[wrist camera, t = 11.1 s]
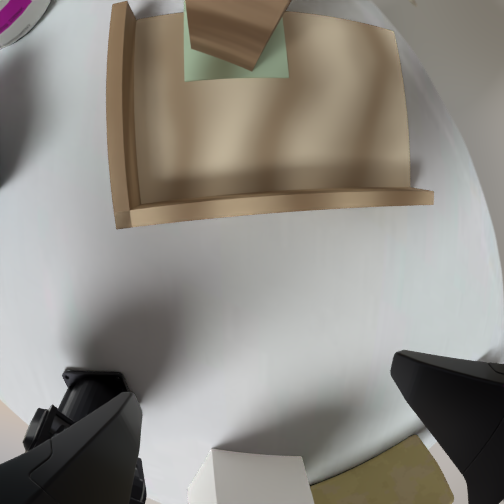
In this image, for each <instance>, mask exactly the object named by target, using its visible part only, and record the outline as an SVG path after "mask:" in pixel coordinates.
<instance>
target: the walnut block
mask: <svg viewBox="0 0 504 504" xmlns="http://www.w3.org/2000/svg"><path fill="white" fill-rule="evenodd" d="M290 2H291V0H185V3H186V12H187V20H188V29H189V37H190V44H191V49H193V50H196V51H199V52H202V53H205V54H208V55H211V56H214V57H216V58H219V59H222V60H224V61H227V62H230V63H232V64H235V65H237V66H240V67H242V68H245V69H247V70H249V71H253V69H254V67H255V65H256V63H257V61H258V59H259V57H260V56H261V54H262V52H263V50H264V48H265V46H266V45H267V43H268V41H269V39H270V37H271V36H272V34H273V32H274V30H275V29H276V27H277V25H278V23H279V22H280V20H281V18H282V16H283V14H284V13H285V11H286V9H287V7H288V6H289V4H290Z"/></svg>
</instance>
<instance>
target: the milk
mask: <svg viewBox="0 0 504 504" xmlns="http://www.w3.org/2000/svg"><path fill="white" fill-rule="evenodd" d="M187 498H188V504H314V500H313V496H312V493H311V489H310V485H309V482H308V478H307V474H306V470H305V467H304V463H303V459H302V456H278V455H263V454H251V453H242V452H233V451H226V450H219V449H211V450H210V452H209V454H208V455H207V457H206V459H205V460H204V462H203V464H202V465H201V467H200V469H199V470H198V472H197V474H196V475H195V477H194V479H193V480H192V482H191V484H190V485H189V487H188V488H187Z"/></svg>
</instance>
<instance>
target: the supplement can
mask: <svg viewBox="0 0 504 504" xmlns="http://www.w3.org/2000/svg"><path fill="white" fill-rule="evenodd" d="M50 2H51V0H0V49H2V48H4V47H7V46H9V45H11V44H12V43H14V42H16V41H17V40H18V39H20V38H21V37H23V36H24V35H25V34H27V33H28V32H29V31H30V30H31V29H32V28H33V27H34V26H35V25H36V24H37V22H38V21H39V20H40V18H41V17H42V16H43V14H44V13H45V11H46V9H47V7H48V5H49V4H50Z"/></svg>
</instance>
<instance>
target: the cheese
mask: <svg viewBox="0 0 504 504" xmlns="http://www.w3.org/2000/svg"><path fill="white" fill-rule="evenodd" d="M310 489H311V493H312V496H313V500H314V504H452V503H453V501H454V496H453V493H452V491H451V489H450V487H449V485H448V483H447V481H446V479H445V477H444V474H443V473H442V471H441V469H440V467H439V465H438V464H437V462H436V461H435V459H434V458H433V456H432V455H431V454H430V452H429V451H428V449H427V448H426V446H425V445H424V444H423V442H422V441H421V440H420V438H419V437H418V436H417V435H412V436H410V437H408V438H407V439H405V440H404V441H402V442H400V443H399V444H397V445H395V446H394V447H392V448H390V449H389V450H387V451H385V452H383V453H382V454H380V455H378V456H376V457H374V458H372V459H371V460H369V461H367V462H365V463H363V464H361V465H359V466H357V467H355V468H353V469H351V470H348V471H346V472H344V473H342V474H340V475H337V476H335V477H333V478H330V479H328V480H325V481H323V482H320V483H317V484H315V485H312V486H310Z"/></svg>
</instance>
